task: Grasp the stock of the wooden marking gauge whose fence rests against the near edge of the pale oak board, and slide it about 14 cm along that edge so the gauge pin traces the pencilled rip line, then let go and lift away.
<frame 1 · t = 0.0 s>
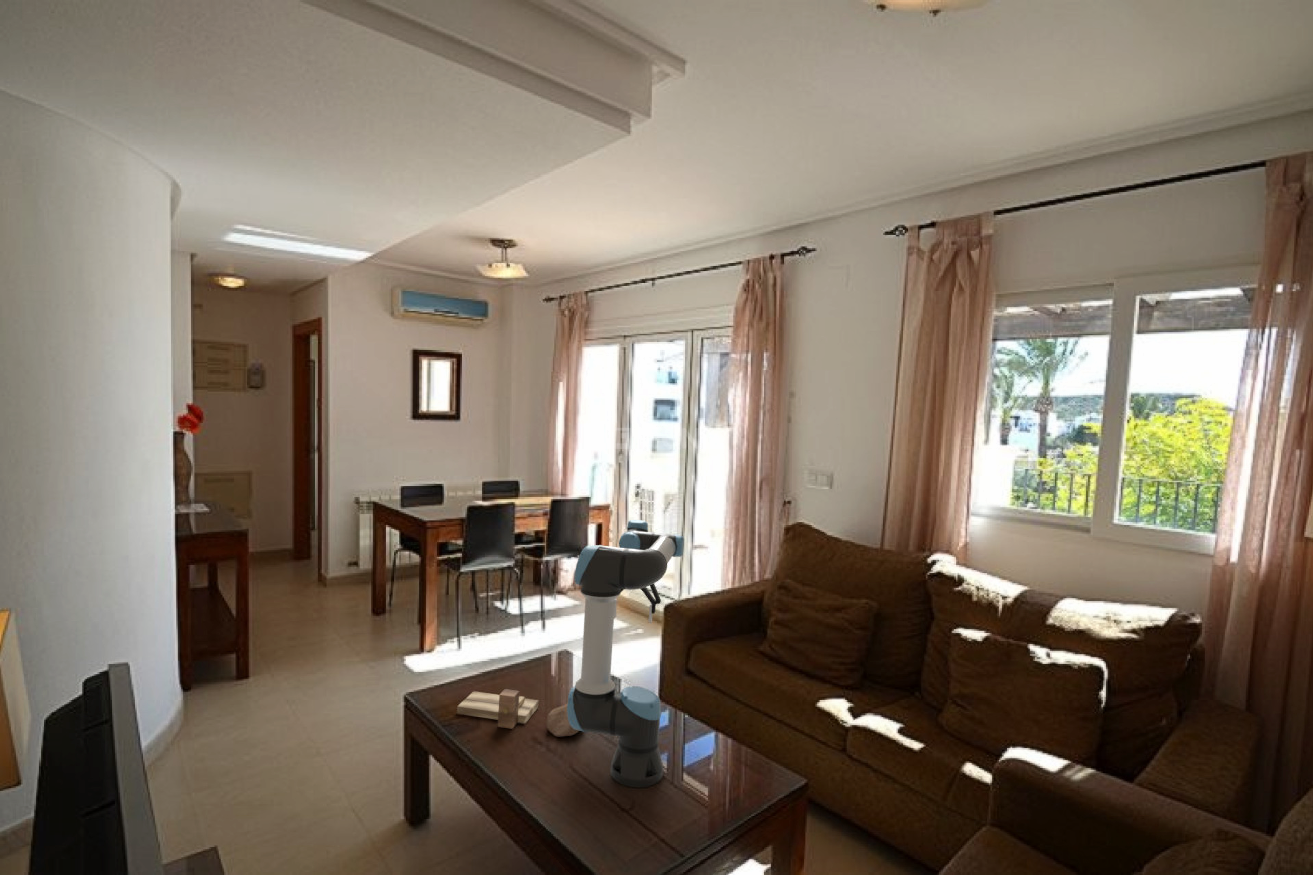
hand: (632, 619, 232), 28 cm above the table, fingers open, 13 cm apart
gauge: (514, 702, 209), point 5 cm above the table, slide at 0.0 cm
stone: (565, 732, 203), on the table
board: (498, 710, 215), on the table
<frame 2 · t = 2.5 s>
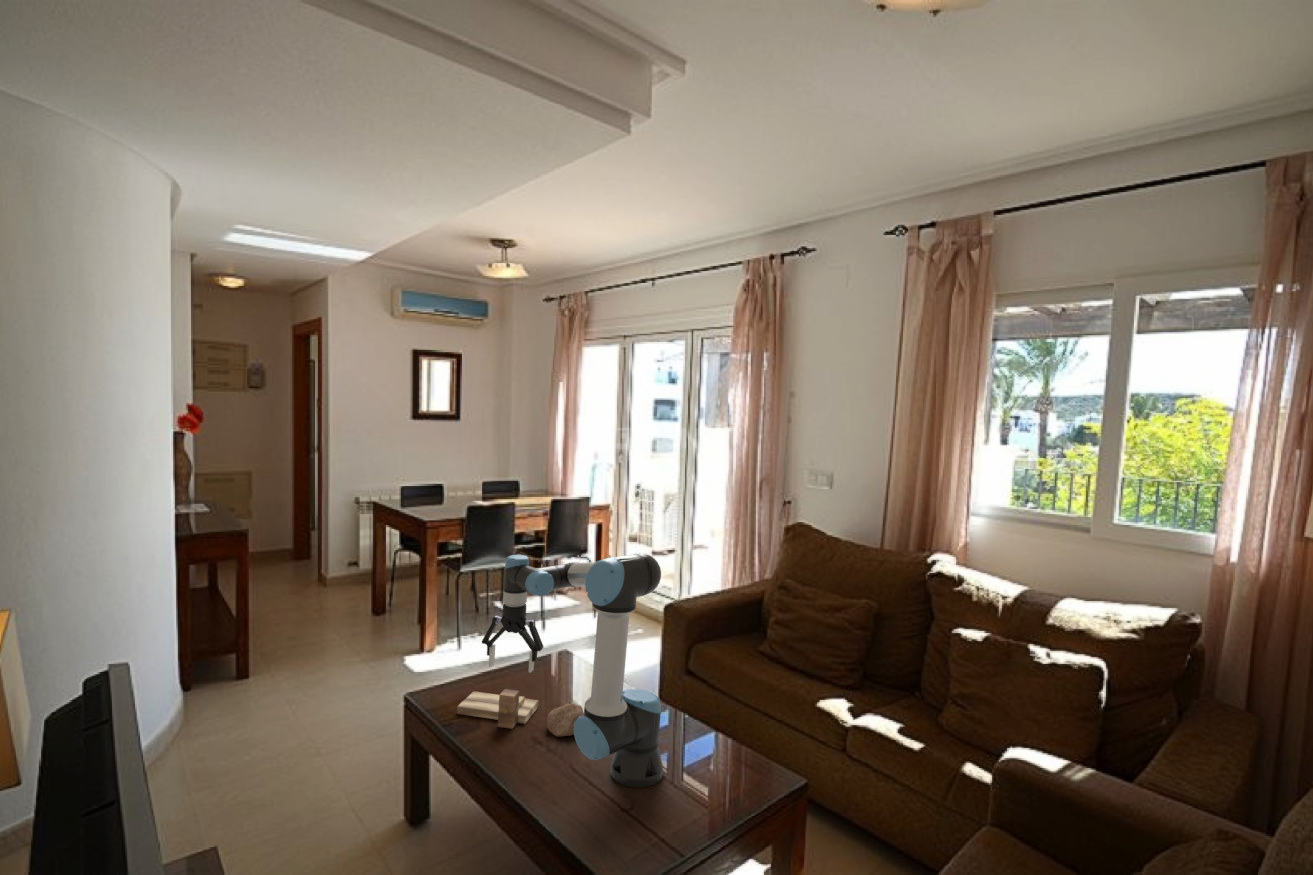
hand: (511, 668, 205), 19 cm above the table, fingers open, 13 cm apart
nothing on the table moved.
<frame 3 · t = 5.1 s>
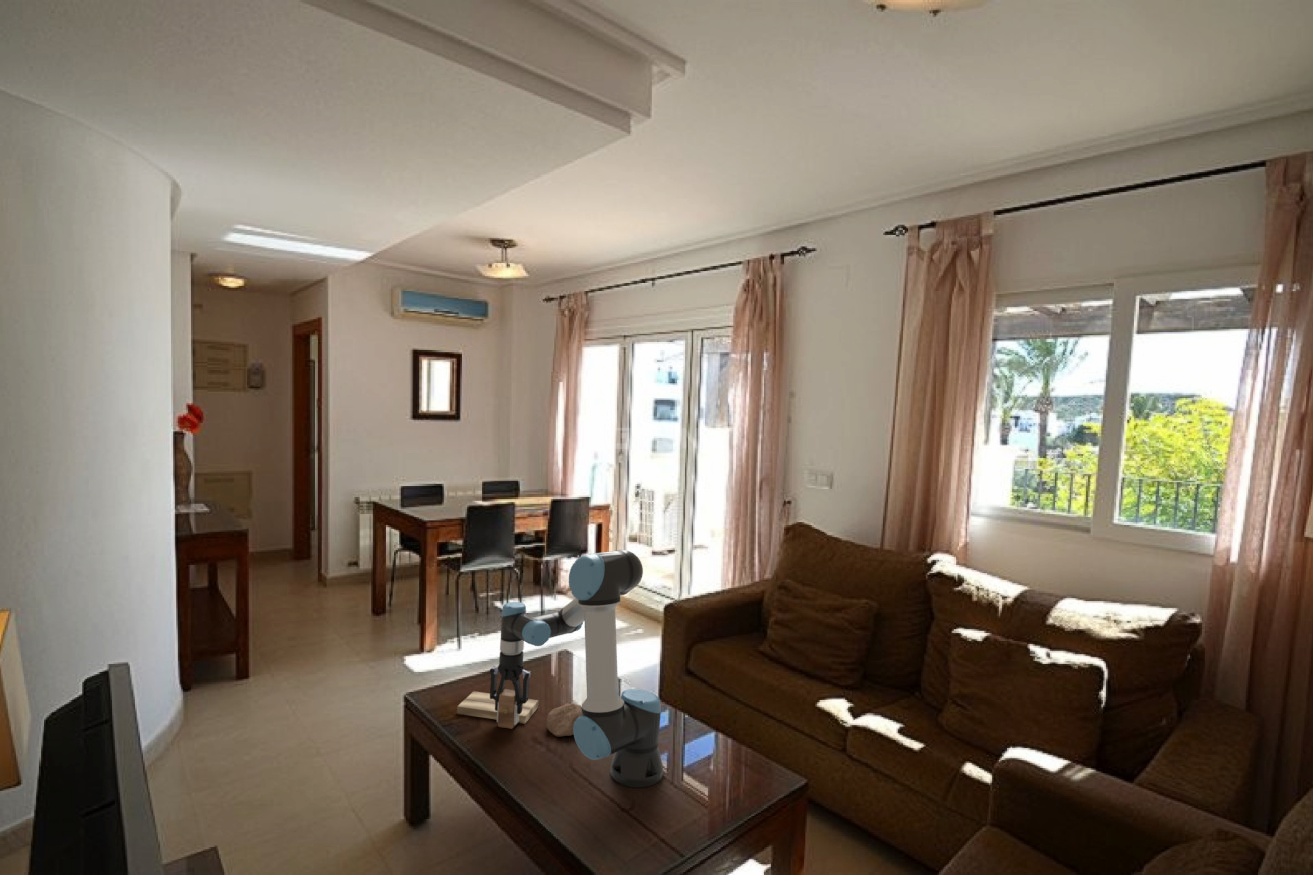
hand: (507, 721, 205), 1 cm above the table, fingers closed on gauge, 5 cm apart
gauge: (514, 702, 209), point 5 cm above the table, slide at 0.0 cm, touching gripper
everything else where it was.
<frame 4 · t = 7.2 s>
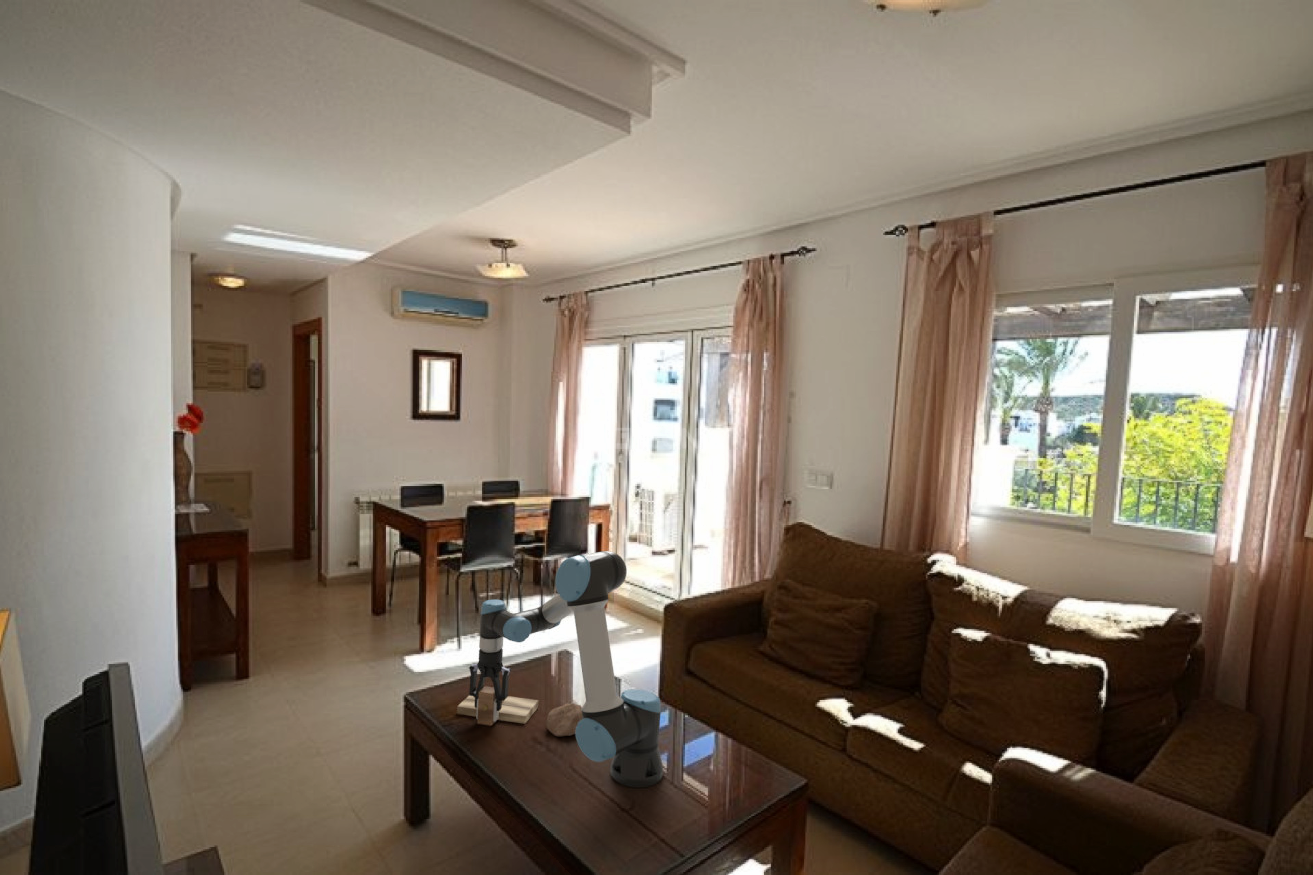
hand: (487, 718, 206), 1 cm above the table, fingers closed on gauge, 5 cm apart
gauge: (494, 699, 211), point 5 cm above the table, slide at 7.1 cm, touching gripper
everything else where it was.
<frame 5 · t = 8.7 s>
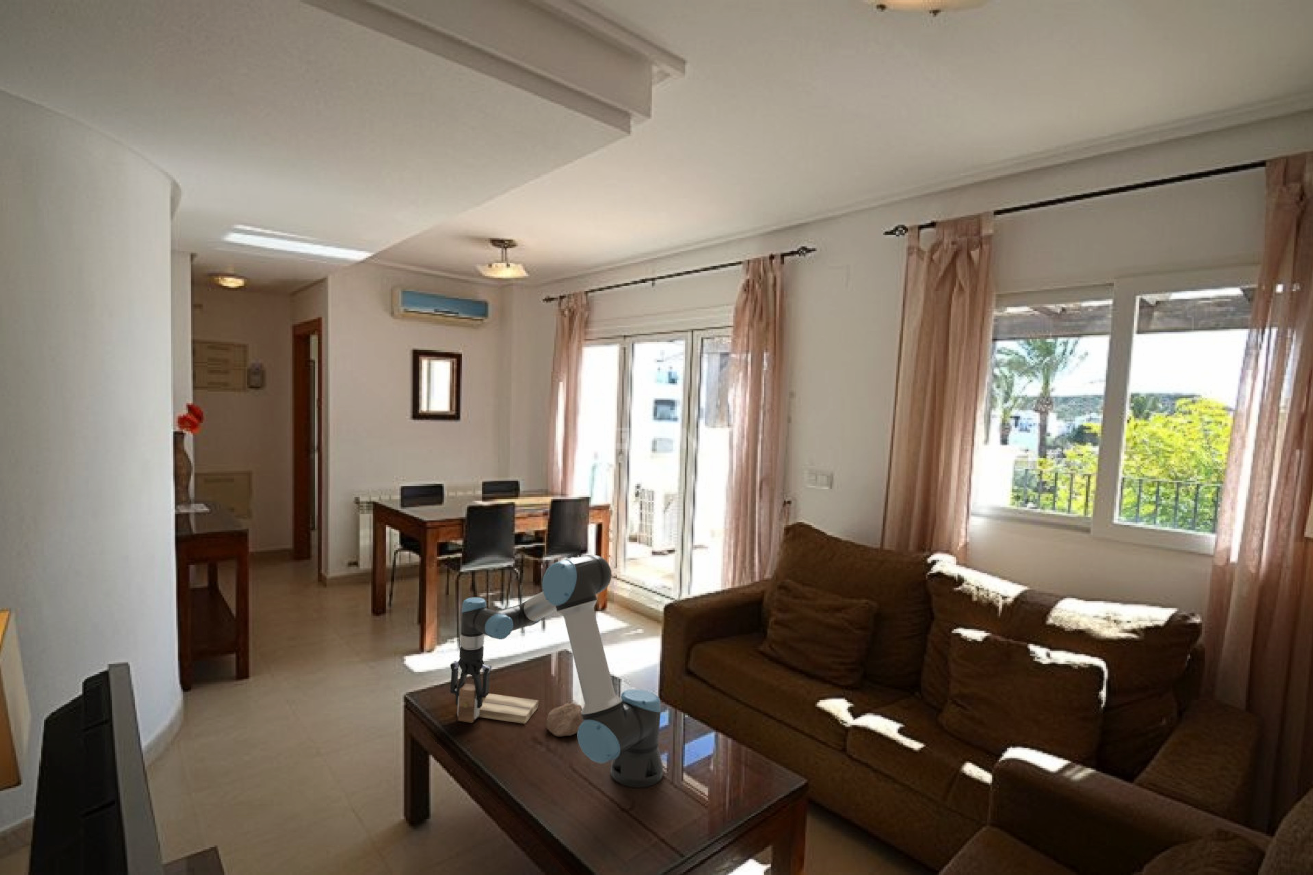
hand: (468, 715, 207), 1 cm above the table, fingers closed on gauge, 5 cm apart
gauge: (475, 696, 212), point 5 cm above the table, slide at 13.8 cm, touching gripper
everything else where it was.
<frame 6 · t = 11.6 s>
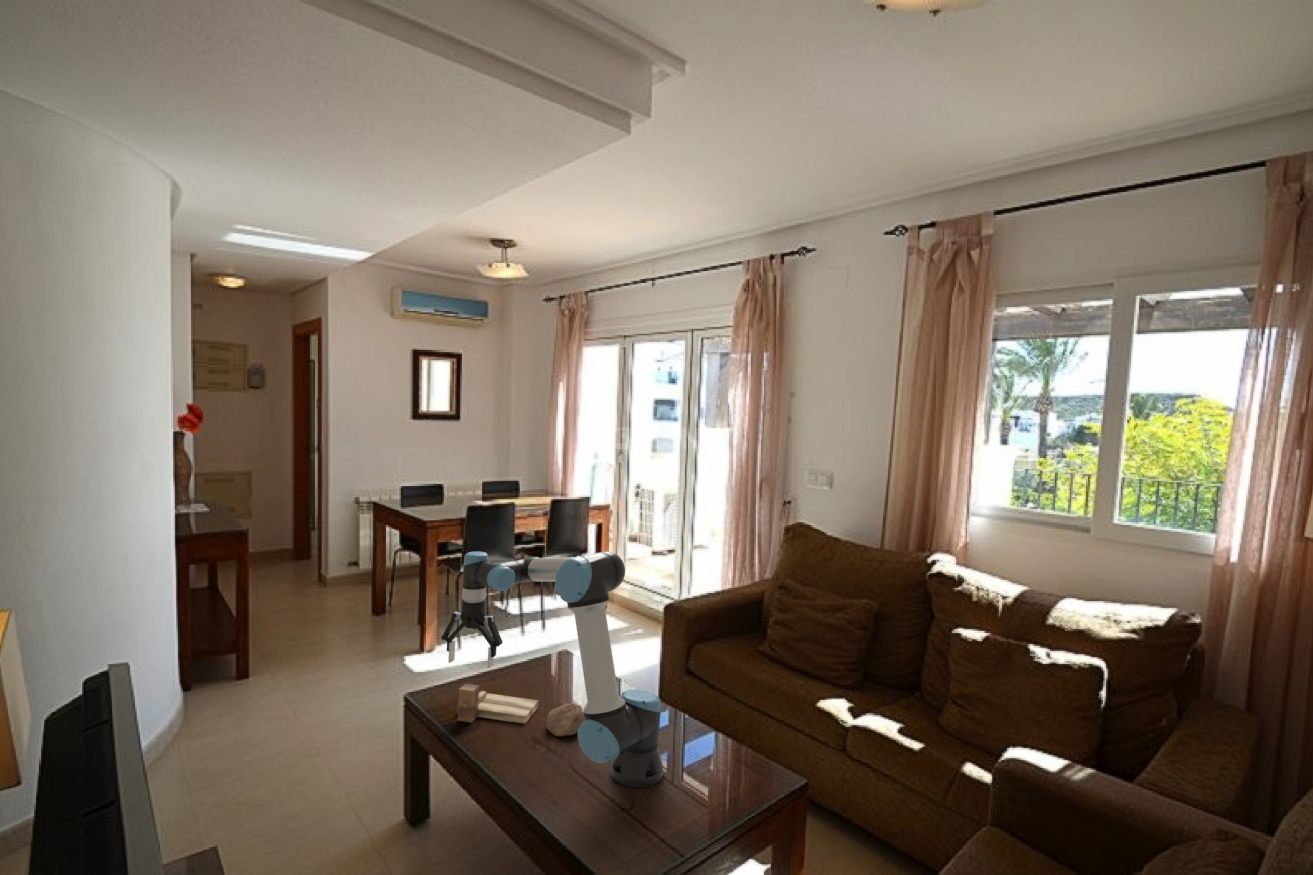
hand: (470, 663, 207), 19 cm above the table, fingers open, 13 cm apart
gauge: (474, 696, 212), point 5 cm above the table, slide at 14.0 cm
everything else where it was.
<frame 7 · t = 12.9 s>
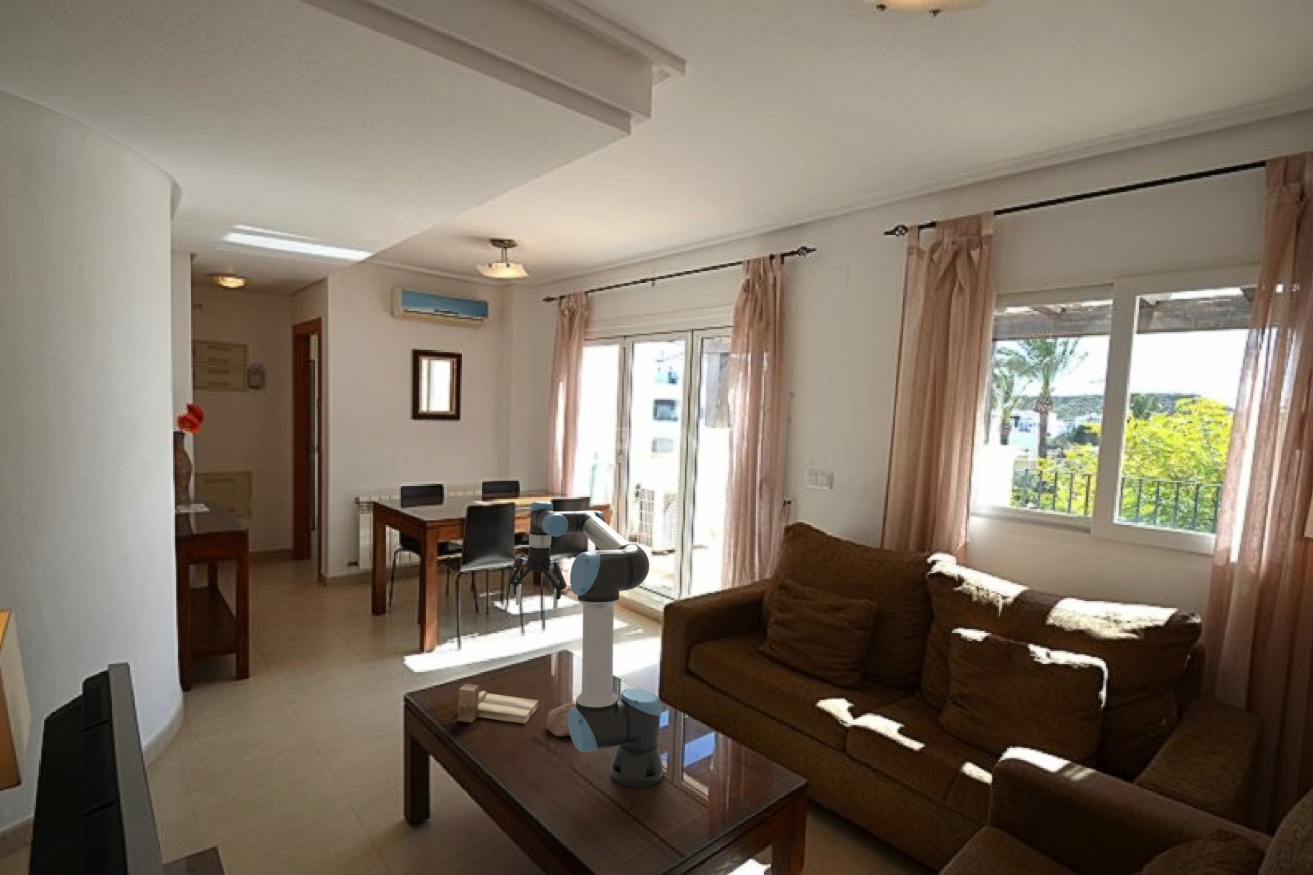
hand: (536, 606, 220), 35 cm above the table, fingers open, 13 cm apart
nothing on the table moved.
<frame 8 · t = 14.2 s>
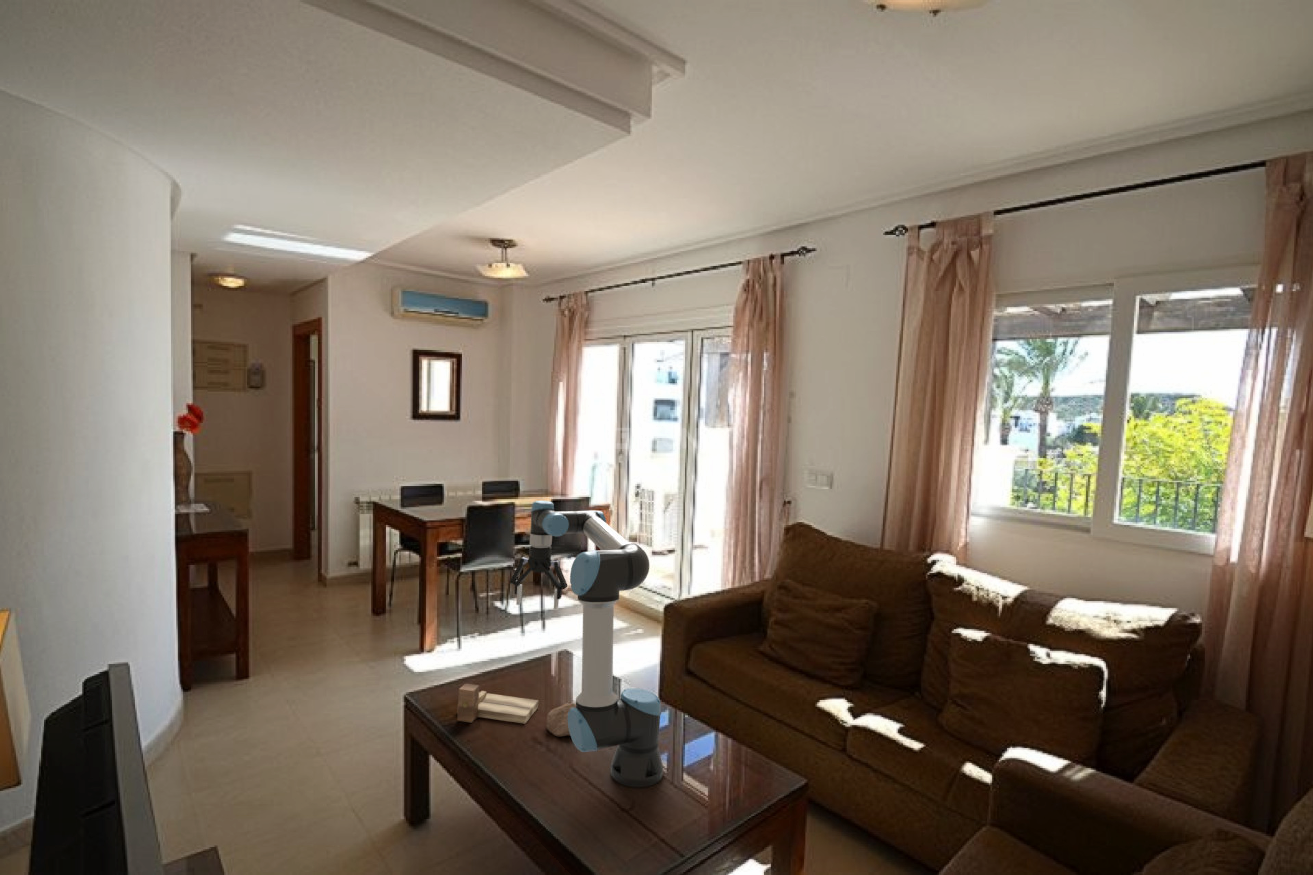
hand: (537, 605, 220), 35 cm above the table, fingers open, 13 cm apart
nothing on the table moved.
at the end: gauge slide at 14.0 cm; the gripper is holding nothing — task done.
